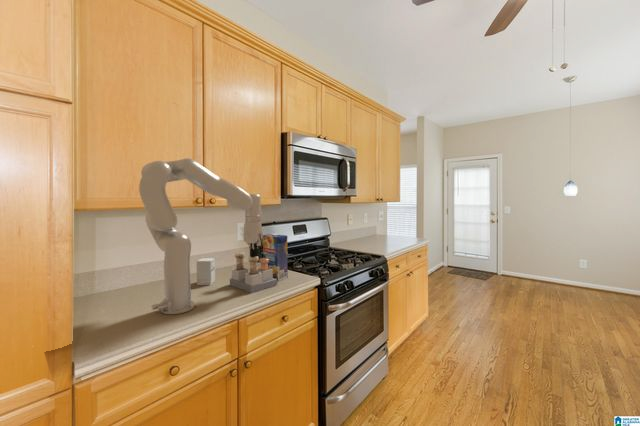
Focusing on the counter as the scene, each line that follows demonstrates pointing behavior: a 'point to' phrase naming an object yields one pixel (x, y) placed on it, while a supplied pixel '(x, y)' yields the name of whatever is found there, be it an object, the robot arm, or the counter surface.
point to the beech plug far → (240, 261)
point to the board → (252, 280)
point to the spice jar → (253, 265)
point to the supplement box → (205, 271)
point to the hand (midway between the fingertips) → (253, 256)
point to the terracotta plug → (264, 263)
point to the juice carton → (276, 254)
